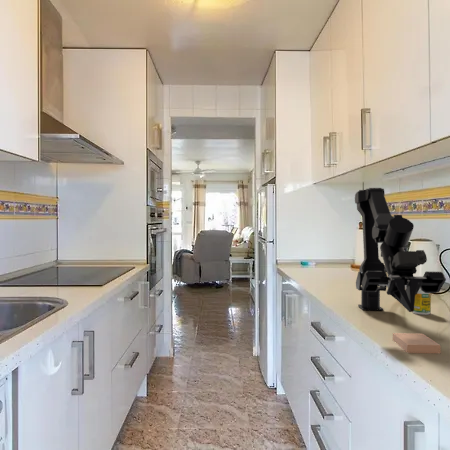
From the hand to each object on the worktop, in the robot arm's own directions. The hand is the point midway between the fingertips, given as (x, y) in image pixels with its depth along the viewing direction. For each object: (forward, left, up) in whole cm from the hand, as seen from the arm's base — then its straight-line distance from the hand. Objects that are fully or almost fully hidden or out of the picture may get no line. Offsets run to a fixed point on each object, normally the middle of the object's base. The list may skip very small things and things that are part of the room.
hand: (411, 311), depth 93 cm
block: (-2, 0, -7) cm, 7 cm away
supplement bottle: (-32, +15, -8) cm, 36 cm away
